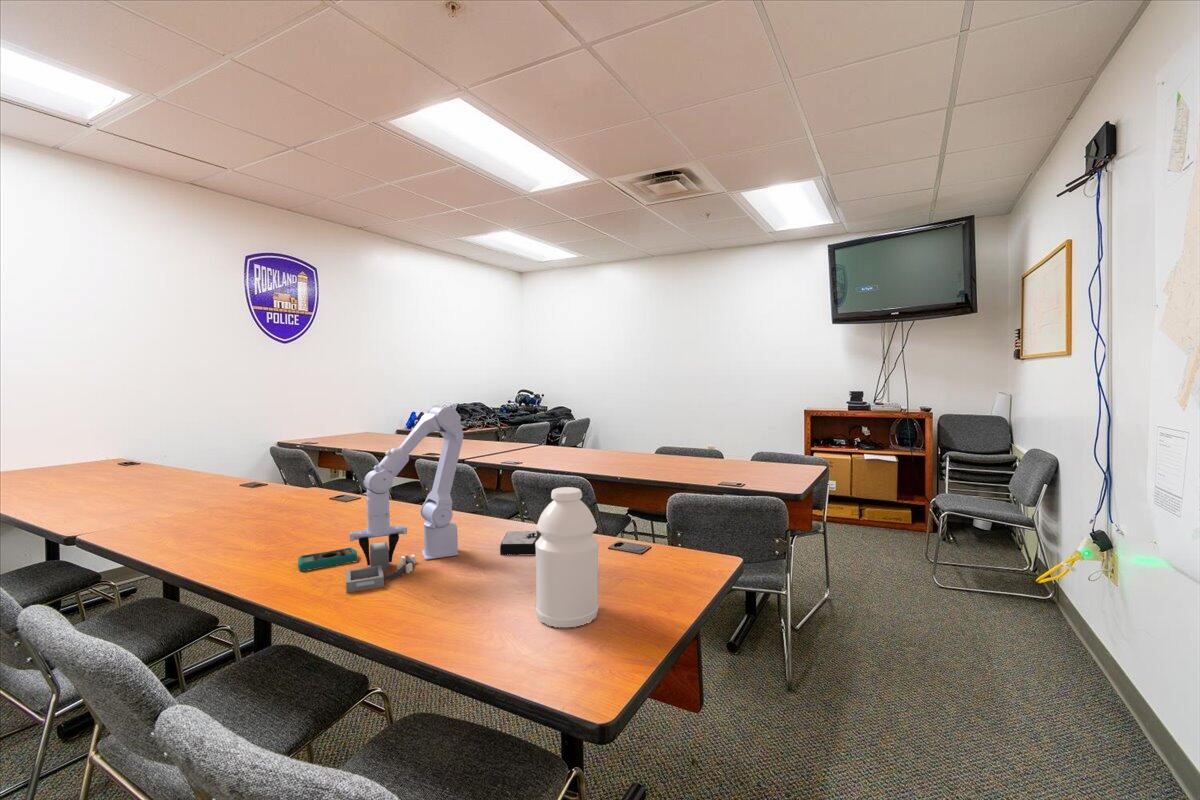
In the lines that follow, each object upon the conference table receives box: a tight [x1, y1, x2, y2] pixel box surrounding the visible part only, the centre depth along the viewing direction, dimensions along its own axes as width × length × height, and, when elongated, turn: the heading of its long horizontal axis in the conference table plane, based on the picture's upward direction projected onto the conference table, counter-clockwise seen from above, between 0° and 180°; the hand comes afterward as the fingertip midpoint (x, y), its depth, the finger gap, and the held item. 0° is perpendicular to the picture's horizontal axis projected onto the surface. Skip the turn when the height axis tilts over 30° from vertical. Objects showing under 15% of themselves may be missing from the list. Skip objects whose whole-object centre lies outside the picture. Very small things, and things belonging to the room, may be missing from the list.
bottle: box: [535, 486, 600, 629], centre depth 114 cm, size 14×14×28 cm
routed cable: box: [383, 553, 417, 582], centre depth 141 cm, size 5×16×2 cm, turn 179°
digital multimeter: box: [297, 547, 358, 572], centre depth 147 cm, size 7×15×3 cm, turn 124°
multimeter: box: [499, 530, 541, 556], centre depth 160 cm, size 13×19×5 cm
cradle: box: [345, 565, 385, 594], centre depth 132 cm, size 8×9×2 cm
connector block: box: [369, 541, 390, 572], centre depth 143 cm, size 4×6×6 cm
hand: (379, 562), depth 143 cm, fingers open, 5 cm apart
